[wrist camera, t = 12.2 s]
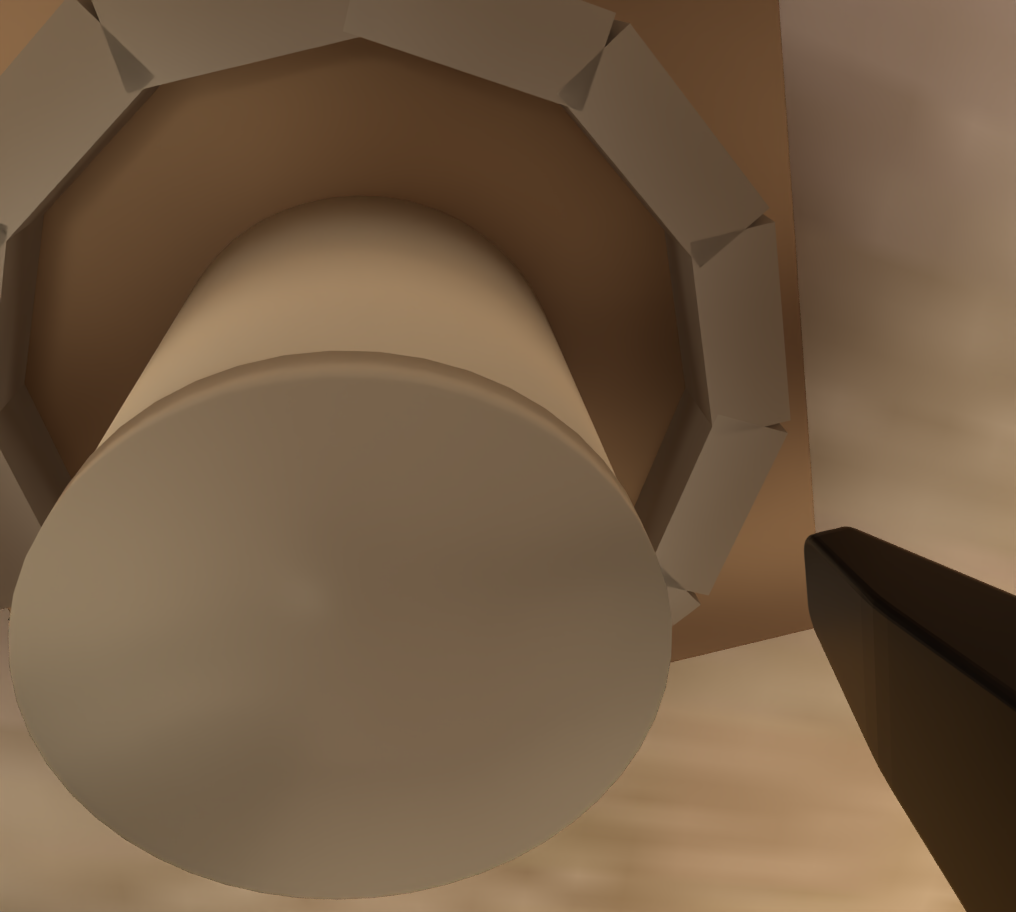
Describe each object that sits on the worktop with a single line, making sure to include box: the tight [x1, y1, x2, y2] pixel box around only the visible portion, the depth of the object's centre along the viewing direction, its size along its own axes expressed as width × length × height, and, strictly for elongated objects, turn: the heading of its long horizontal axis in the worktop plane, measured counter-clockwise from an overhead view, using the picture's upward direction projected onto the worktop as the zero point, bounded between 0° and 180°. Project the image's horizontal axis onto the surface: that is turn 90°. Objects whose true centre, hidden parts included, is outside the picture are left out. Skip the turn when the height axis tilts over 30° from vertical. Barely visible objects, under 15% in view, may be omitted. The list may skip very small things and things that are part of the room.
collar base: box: [0, 0, 815, 662], centre depth 15 cm, size 14×14×2 cm
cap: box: [8, 195, 672, 899], centre depth 12 cm, size 6×6×7 cm
